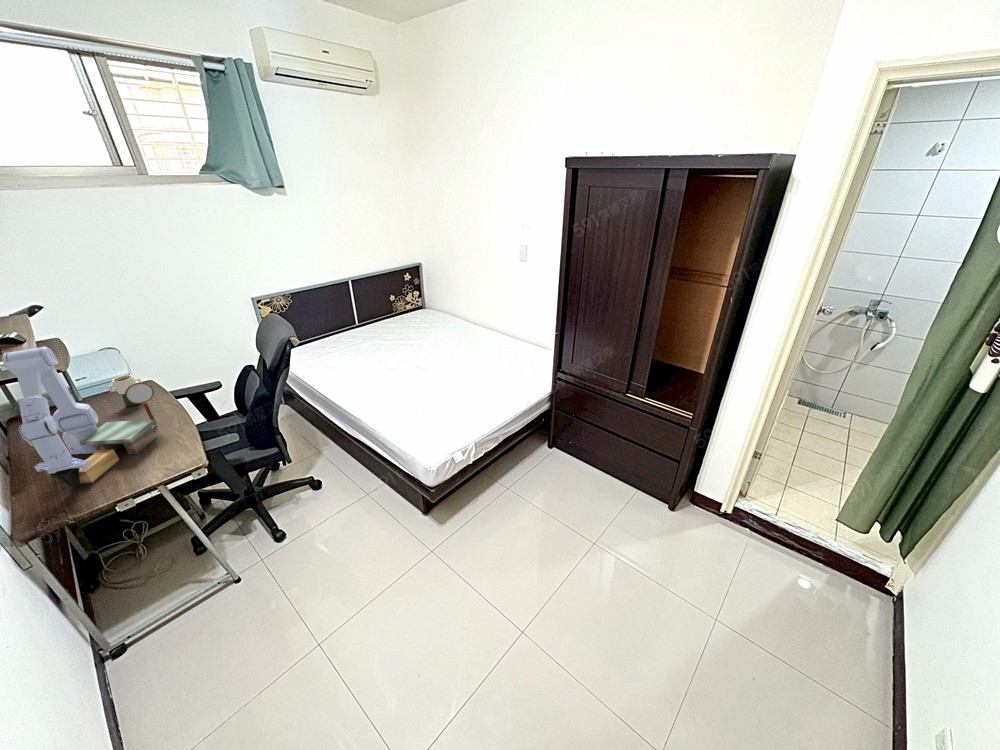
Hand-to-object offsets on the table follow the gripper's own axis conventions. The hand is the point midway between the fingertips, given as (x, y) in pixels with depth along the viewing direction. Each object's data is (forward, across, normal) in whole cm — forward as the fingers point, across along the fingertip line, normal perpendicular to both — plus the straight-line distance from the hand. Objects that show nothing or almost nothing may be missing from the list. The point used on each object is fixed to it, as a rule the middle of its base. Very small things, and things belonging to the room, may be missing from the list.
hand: (75, 485), depth 131 cm
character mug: (+2, -21, +56) cm, 60 cm away
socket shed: (+1, 0, +22) cm, 22 cm away
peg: (+2, 0, +9) cm, 9 cm away
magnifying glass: (+2, +1, +36) cm, 36 cm away
